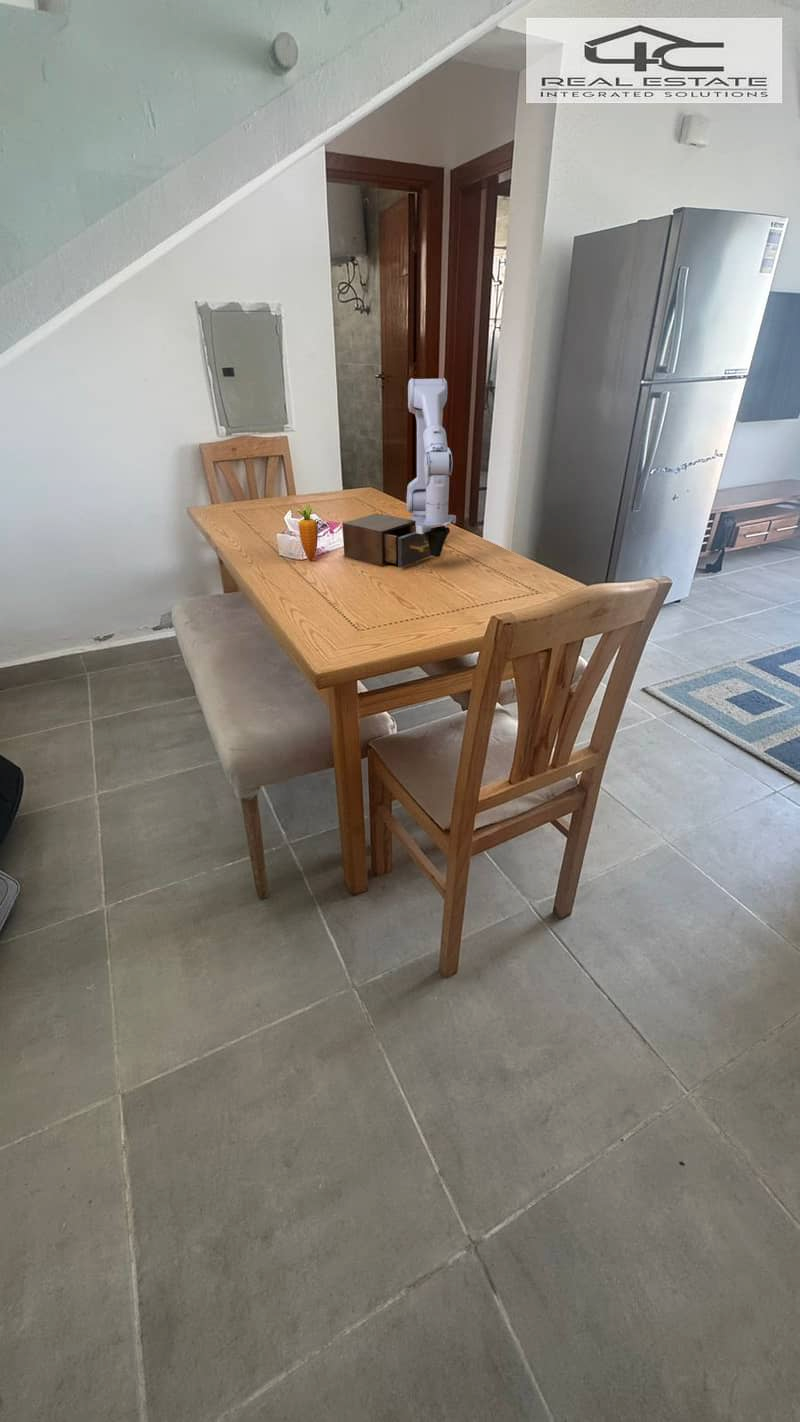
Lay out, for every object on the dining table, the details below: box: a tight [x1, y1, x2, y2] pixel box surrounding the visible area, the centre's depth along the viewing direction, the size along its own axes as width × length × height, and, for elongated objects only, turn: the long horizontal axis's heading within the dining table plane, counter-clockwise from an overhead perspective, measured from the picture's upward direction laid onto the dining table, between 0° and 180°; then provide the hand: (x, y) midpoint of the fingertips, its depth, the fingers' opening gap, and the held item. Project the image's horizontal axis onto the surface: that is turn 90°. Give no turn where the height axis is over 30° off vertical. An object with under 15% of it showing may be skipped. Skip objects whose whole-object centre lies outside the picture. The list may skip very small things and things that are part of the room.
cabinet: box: [342, 512, 416, 567], centre depth 170 cm, size 14×14×9 cm
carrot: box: [297, 503, 319, 562], centre depth 164 cm, size 5×5×15 cm
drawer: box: [383, 525, 432, 568], centre depth 165 cm, size 18×13×8 cm
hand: (435, 555), depth 160 cm, fingers closed, pressing on drawer
